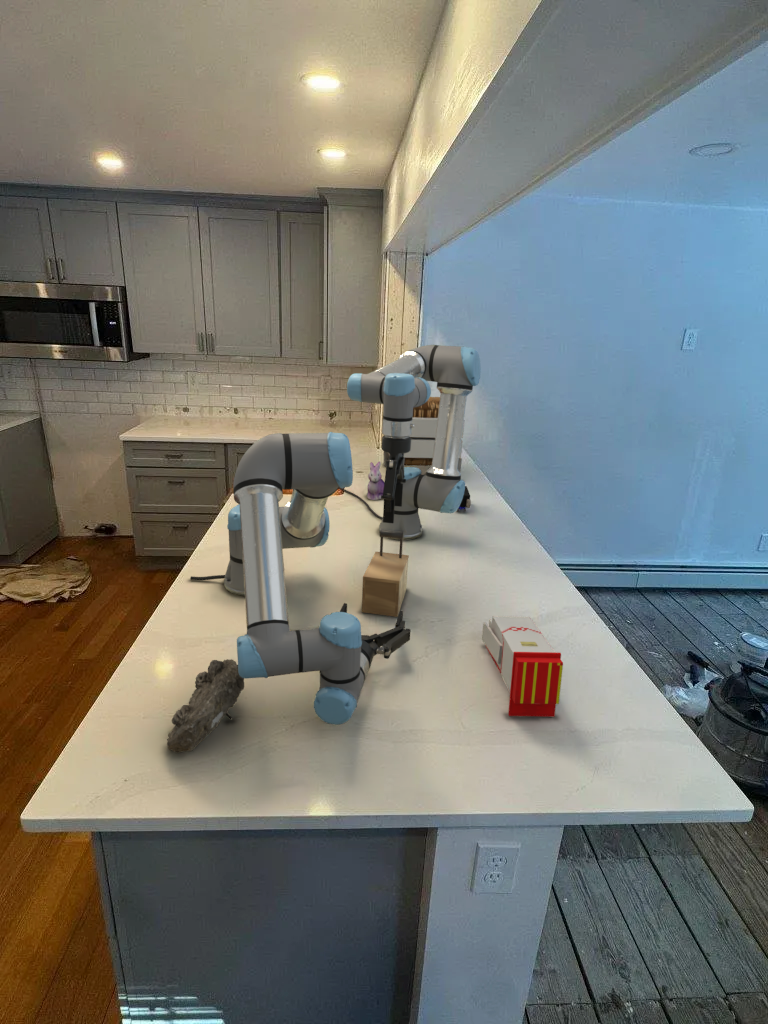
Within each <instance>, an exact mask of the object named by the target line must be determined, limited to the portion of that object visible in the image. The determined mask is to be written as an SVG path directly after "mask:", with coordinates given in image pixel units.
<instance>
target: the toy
mask: <svg viewBox="0 0 768 1024" xmlns="http://www.w3.org/2000/svg"><path fill="white" fill-rule="evenodd" d="M481 632H482V633H481V640H482V642H483V644H484V646H485V648H486V650H487V652H488V654H489V655H490V657H491V659H492V661H493V663H494V664H495V666H496V668H497V670H498V671H499V674H500V676H501V678H502V680H503V682H504V684H505V687H506V688H507V690H508V692H509V700H508V702H509V703H508V710H507V711H508V712H507V715H508V717H551V718H552V717H553V718H555V716H556V707H557V705H559V704H560V698H561V697H560V695H561V688H562V687H561V686H562V678H563V669H564V662H563V661H562V653H561V652H556V651H555V649H554V648H553V647H552V645H551V644H550V643H549V641H548V639H547V638H546V637H545V635H544V634H543V633H542V631H541V630H540V629H539V628H538V626H537V624H536V622H535V621H534V620H533V619H532V617H531V616H514V615H513V616H512V615H511V616H508V615H507V616H506V615H505V616H504V615H492V618H489V620H488V623H487V621H483V623H482V631H481Z"/></svg>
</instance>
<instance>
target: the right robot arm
mask: <svg viewBox="0 0 768 1024" xmlns="http://www.w3.org/2000/svg"><path fill="white" fill-rule="evenodd" d="M481 368H482V367H481V359H480V355H479V352H478V350H477V349H476V348H474V347H469V346H461V345H460V346H459V345H457V346H456V345H441V344H426V345H421V346H418V347H415V348H412V349H409V350H407V351H404V352H403V353H402V354H400V356H399V357H398V358H397V359H395V360H394V361H392V362H389V363H388V364H385V365H384V366H381V367H379V368H377V369H375V370H373V371H371V372H368V373H362V372H360V373H352V374H350V375H349V377H348V379H347V383H346V394H347V396H348V398H349V399H350V401H354V402H360V403H368V404H378V405H383V408H382V410H383V411H382V422H381V423H382V424H381V428H382V429H381V434H382V437H381V451H382V452H383V453H384V452H388V453H389V454H390V456H389V459H388V458H387V461H386V466H385V475H384V490H383V495H381V499H380V500H383V507H382V508H383V509H382V510H383V512H382V516H380V515H378V514H377V513H376V512H375V511H374V510H373V509H372V508H371V507H370V505H369V504H368V503H367V502H366V501H365V500H364V499H363V498H362V497H360V496H359V495H357V494H356V493H354V492H352V491H350V490H347V489H345V488H340V487H339V488H338V489H337V490H340V491H343V492H345V493H347V494H350V495H351V496H354V497H355V498H357V499H358V500H360V501H361V502H362V503H363V504H364V505H365V506H366V507H367V509H368V510H369V511H370V513H372V514H373V515H374V516H375V517H377V518H378V519H380V520H381V522H379V525H378V533H380V530H390V531H399V532H404V538H403V541H410V540H415V539H418V538H420V537H421V536H422V535H423V525H422V524H421V518H420V515H419V509H420V510H427V511H433V512H438V513H440V514H451V515H452V514H454V513H456V512H458V511H457V509H458V508H459V506H460V504H461V501H462V499H463V495H464V491H465V486H466V481H464V480H463V479H462V473H460V472H459V471H458V469H457V467H458V459H459V452H460V444H461V440H462V438H461V437H462V429H463V422H464V423H465V421H464V420H465V413H466V406H467V399H468V396H469V395H470V394H471V393H472V392H473V389H474V387H476V386H478V385H479V384H480V380H481ZM429 382H432V383H433V382H434V383H436V389H437V390H438V391H439V393H440V396H439V397H440V403H439V411H438V419H437V427H436V435H435V444H434V452H433V460H432V465H430V466H429V468H428V469H426V472H425V474H422V470H421V468H419V467H416V466H406V467H405V465H404V453H408V452H409V451H410V450H411V438H410V437H409V436H410V435H411V431H412V428H414V424H411V423H412V417H413V408H415V407H419V406H421V405H423V404H424V403H425V402H427V401H428V399H429V397H431V394H432V389H431V385H430V383H429ZM389 540H395V541H400V539H395V538H389Z"/></svg>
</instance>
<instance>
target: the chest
mask: <svg viewBox="0 0 768 1024" xmlns="http://www.w3.org/2000/svg"><path fill="white" fill-rule="evenodd" d="M408 567H409V560H408V561H407V564H406V567H405V570H404V572H403V575H402V578H401V581H400V584H396V583H388V582H380V581H372V580H364V579H363V578H362V589H361V590H362V594H361V595H362V596H361V613H366V614H373V615H380V616H387V617H395V618H398V615H399V612H400V611H401V607H402V604H403V602H404V598H405V596H406V593H407V592H406V591H407V583H408Z"/></svg>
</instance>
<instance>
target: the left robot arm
mask: <svg viewBox="0 0 768 1024" xmlns="http://www.w3.org/2000/svg"><path fill="white" fill-rule="evenodd" d="M353 471H354V470H353V457H352V450H351V443H350V439H349V437H348V435H346V434H345V433H343V432H333V431H329V432H298V433H297V432H296V433H295V432H294V433H293V432H292V433H288V432H287V433H282V432H277V433H271V434H268V435H264V436H262V437H261V438H259V439H257V440H256V441H255V442H253V443H252V445H251V446H249V448H248V449H247V450H246V451H245V452H244V454H243V455H242V457H241V459H240V460H239V462H238V465H237V468H236V470H235V474H234V478H233V484H232V485H233V487H232V490H233V500H234V502H235V503H236V504H237V505H235V506H233V507H232V508H230V510H229V512H228V514H227V526H226V527H227V530H228V549H229V550H228V551H229V552H228V553H229V562H228V564H227V568H226V572H225V574H219V575H208V576H192V575H191V576H190V581H211V580H220V579H221V580H222V579H224V580H223V582H224V583H223V584H224V589H225V590H226V591H227V592H229V593H231V594H233V595H234V594H235V595H238V596H243V597H244V604H245V605H244V606H245V618H246V619H245V621H246V634H244V635H240V636H238V637H237V638H236V654H237V655H236V656H237V665H238V673H239V675H240V676H241V677H242V678H244V680H245V679H247V680H248V679H261V678H262V679H263V678H265V679H268V678H271V677H277V676H285V675H293V674H301V673H304V674H305V673H310V672H312V673H313V672H319V688H318V690H316V693H315V696H314V701H313V710H314V713H315V715H316V716H317V718H319V719H320V720H321V721H322V722H323V723H326V724H329V725H334V726H339V725H343V724H345V723H347V722H348V721H350V719H351V718H352V716H353V714H354V712H355V710H356V709H357V708H358V702H359V699H360V696H361V693H362V691H363V687H364V685H365V682H366V679H367V676H368V675H369V671H370V668H371V665H372V663H373V660H374V657H375V656H377V655H382V656H383V659H385V660H388V659H390V657H391V655H392V654H393V653H394V652H396V651H397V650H398V649H400V648H401V647H402V646H404V645H405V644H407V643H408V642H409V641H410V640H411V633H412V631H411V630H412V629H410V628H409V627H408V628H406V621H405V620H404V619H403V616H404V611H403V610H400V611H399V614H398V617H396V621H395V625H394V626H395V627H393V628H391V629H388V630H386V631H383V632H381V633H374V634H371V635H368V634H362V625H361V622H360V620H359V619H358V617H356V616H355V615H354V614H352V613H349V612H348V603H346V602H344V603H343V604H342V606H341V608H340V610H339V611H334V612H331V613H330V614H326V615H324V616H323V617H322V618H321V619H320V622H319V626H318V627H313V628H304V629H294V630H293V629H292V630H290V619H289V609H288V599H287V597H288V596H287V586H286V585H287V583H286V573H285V562H284V551H283V550H284V549H285V550H287V549H301V548H311V549H312V548H313V549H314V548H316V547H322V546H324V545H325V544H326V543H327V542H328V539H329V533H330V526H331V525H330V515H329V511H328V508H326V504H327V502H328V498H330V497H332V495H334V494H335V493H336V492H337V491H338V490H339V489H338V488H339V487H340V488H342V489H345V488H350V487H351V486H352V485H353V480H354V479H353V478H354V475H353V474H354V472H353ZM284 490H287V491H288V490H292V491H291V497H290V500H289V501H288V502H287V503H286V504H285V506H280V505H279V502H280V501H281V500H282V499H283V497H284Z"/></svg>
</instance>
